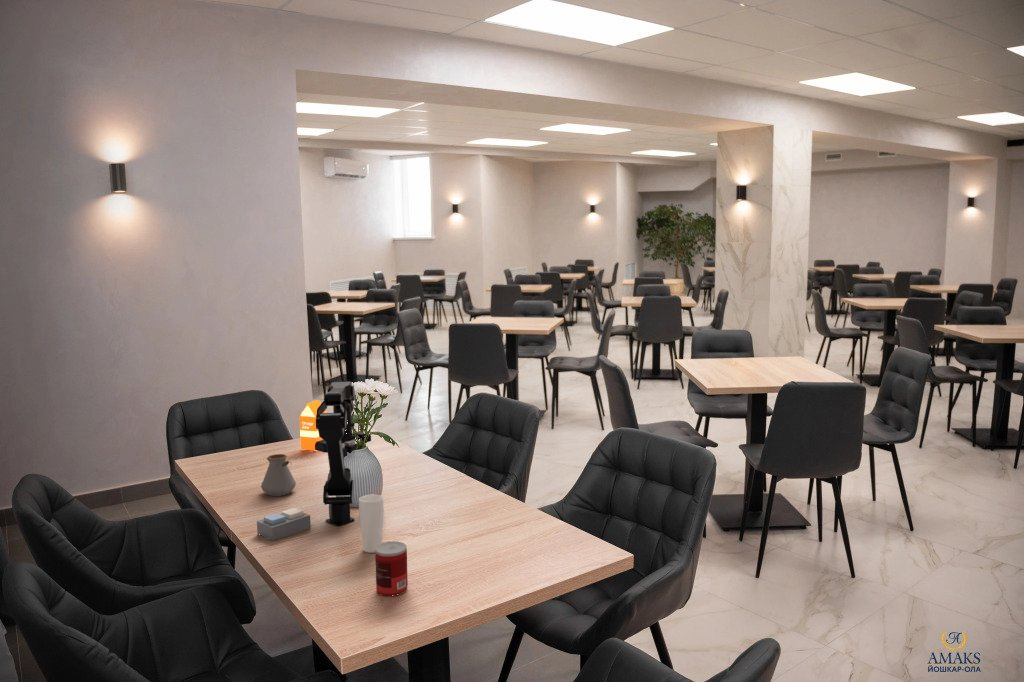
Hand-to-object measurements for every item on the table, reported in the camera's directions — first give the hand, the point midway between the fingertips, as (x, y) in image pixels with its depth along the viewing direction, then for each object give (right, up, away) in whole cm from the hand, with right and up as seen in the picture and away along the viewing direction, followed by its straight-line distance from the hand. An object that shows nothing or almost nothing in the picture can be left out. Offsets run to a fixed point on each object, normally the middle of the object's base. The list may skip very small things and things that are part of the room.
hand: (344, 467), depth 246 cm
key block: (-14, -16, -20) cm, 29 cm away
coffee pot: (-23, -12, +11) cm, 29 cm away
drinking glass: (+15, -18, -34) cm, 42 cm away
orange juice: (-28, -4, +72) cm, 77 cm away
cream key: (-12, -14, -18) cm, 26 cm away
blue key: (-15, -15, -22) cm, 31 cm away
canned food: (+25, -21, -59) cm, 67 cm away
